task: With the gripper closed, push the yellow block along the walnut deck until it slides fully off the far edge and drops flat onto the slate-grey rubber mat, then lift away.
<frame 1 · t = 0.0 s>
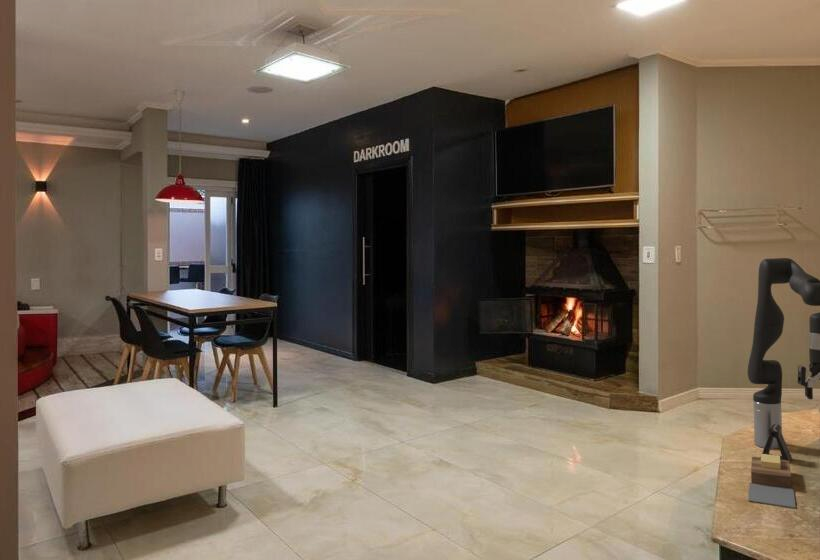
phone stand: (776, 459, 212), on the table
deck: (770, 478, 195), on the table
yellow block: (770, 464, 196), point 4 cm above the table, touching deck
mat: (771, 495, 181), on the table
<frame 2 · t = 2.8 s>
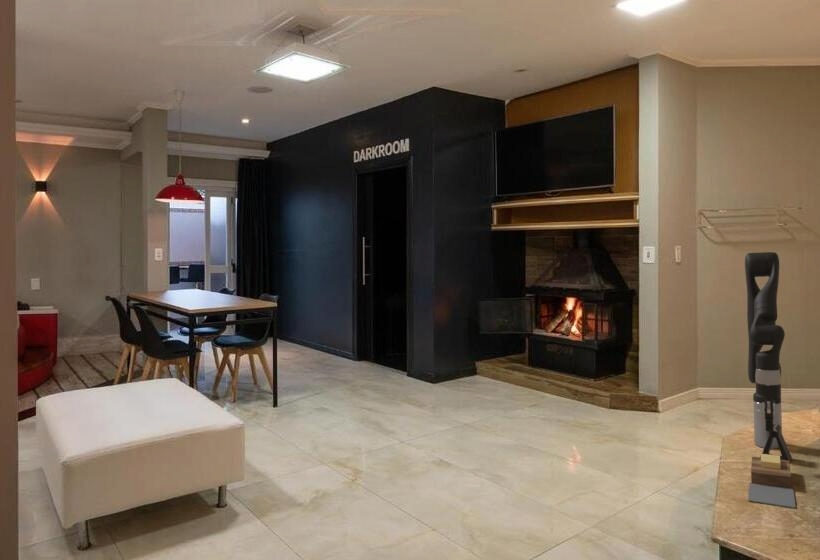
hand: (769, 430, 204), 13 cm above the table, tool pointing down, fingers closed
nothing on the table moved.
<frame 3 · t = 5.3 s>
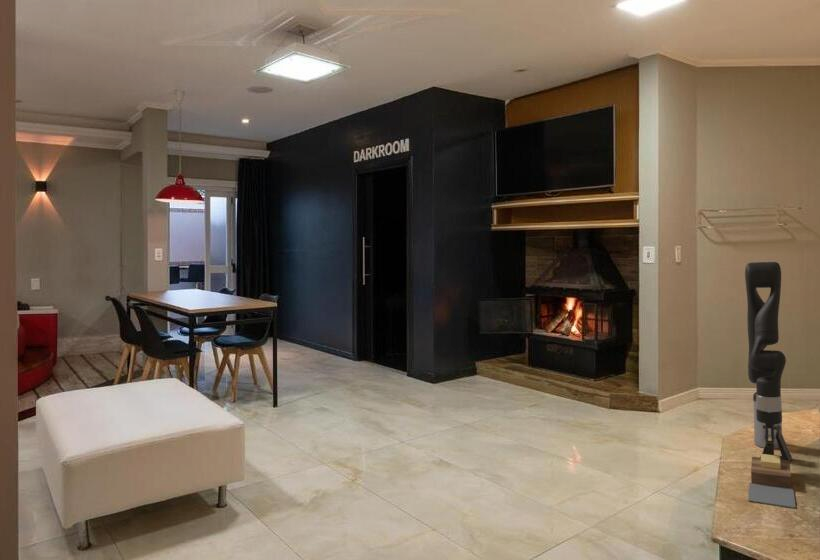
hand: (770, 457, 201), 5 cm above the table, tool pointing down, fingers closed
yellow block: (770, 464, 196), point 4 cm above the table, touching deck, gripper
everything else where it was.
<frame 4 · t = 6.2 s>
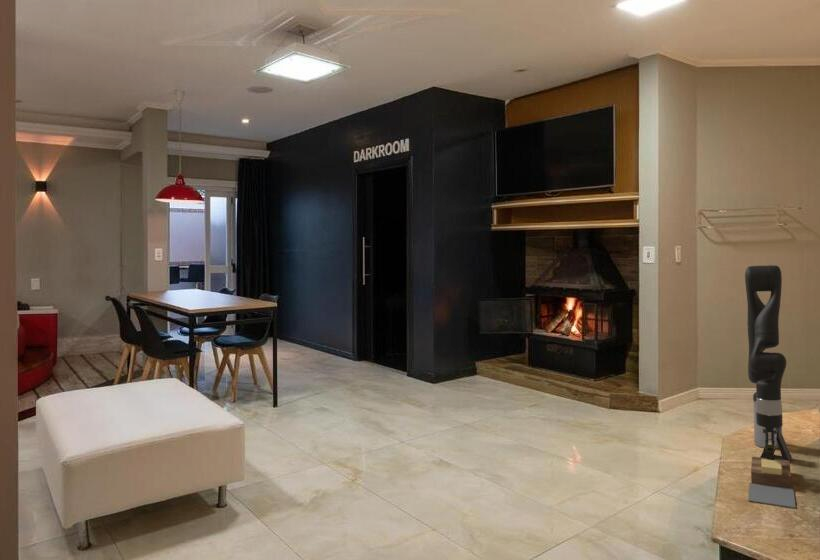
hand: (770, 462, 196), 5 cm above the table, tool pointing down, fingers closed
yellow block: (771, 469, 192), point 4 cm above the table, touching deck, gripper
everything else where it was.
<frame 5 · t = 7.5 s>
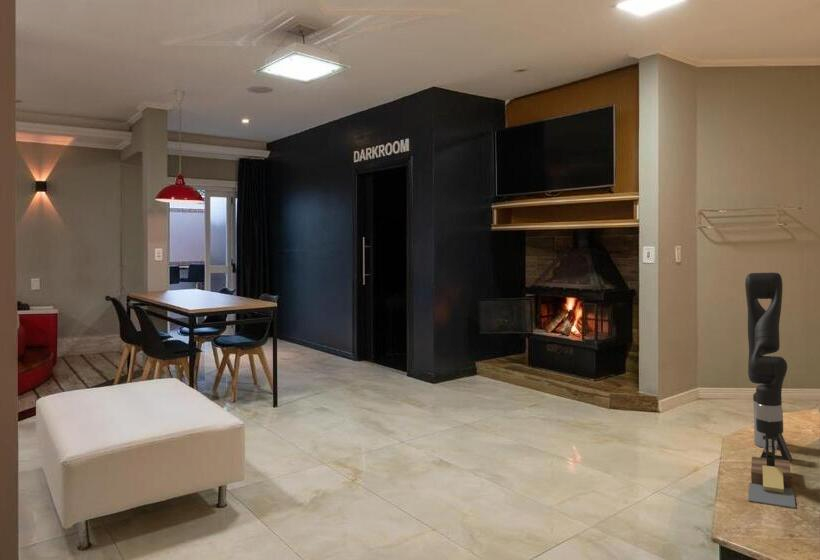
hand: (770, 469, 190), 5 cm above the table, tool pointing down, fingers closed
yellow block: (772, 480, 186), point 3 cm above the table, tilted 34°, touching gripper
everything else where it was.
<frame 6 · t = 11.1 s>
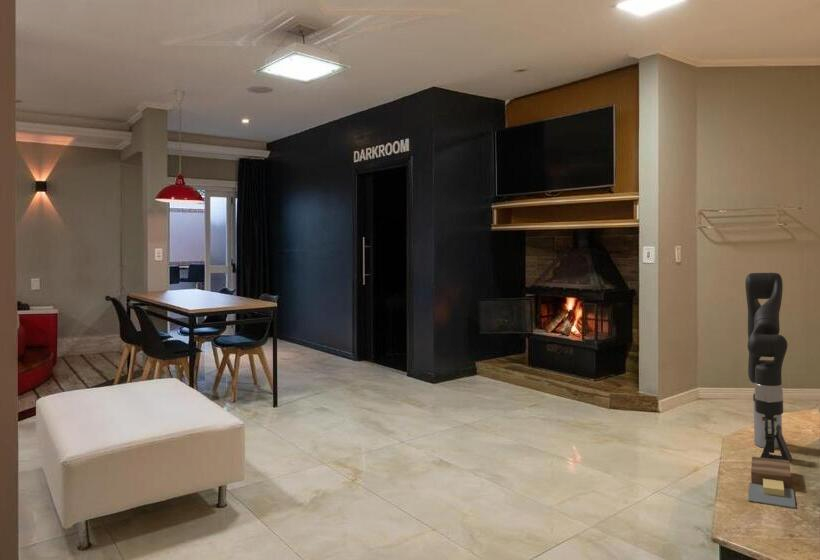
hand: (770, 451, 183), 13 cm above the table, tool pointing down, fingers closed
yellow block: (773, 490, 184), resting on mat
everything else where it was.
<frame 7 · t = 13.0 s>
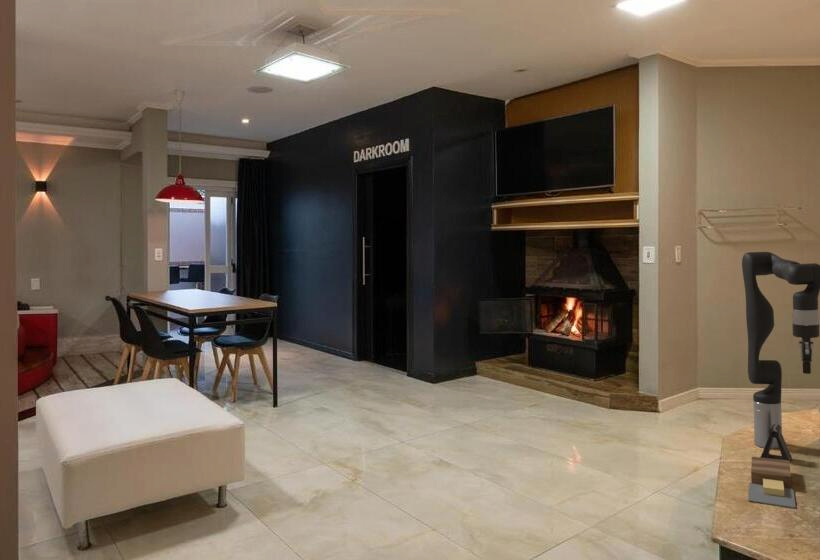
hand: (806, 373, 198), 34 cm above the table, tool pointing down, fingers closed
nothing on the table moved.
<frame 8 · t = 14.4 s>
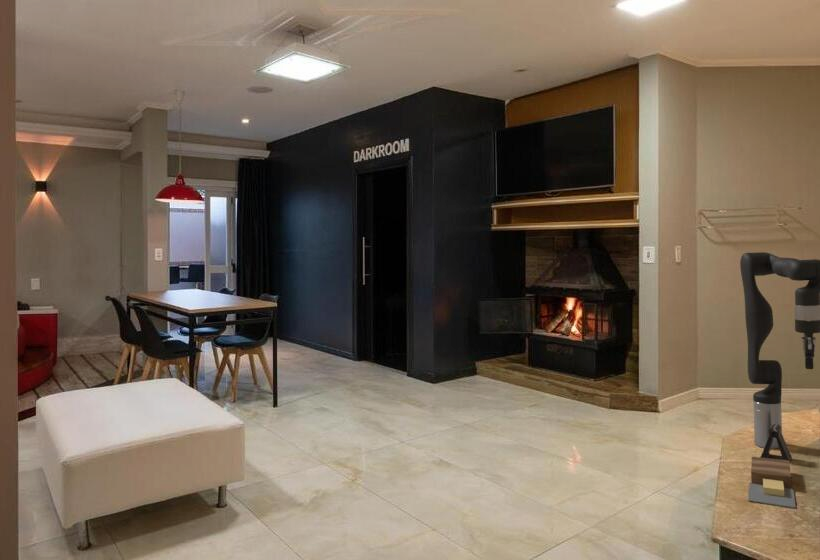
hand: (809, 368, 199), 35 cm above the table, tool pointing down, fingers closed
nothing on the table moved.
at the end: yellow block resting on mat; yellow block inside the target area on the mat (3.9 cm from its centre), point 0.4 cm above the mat's base; yellow block touching mat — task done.
